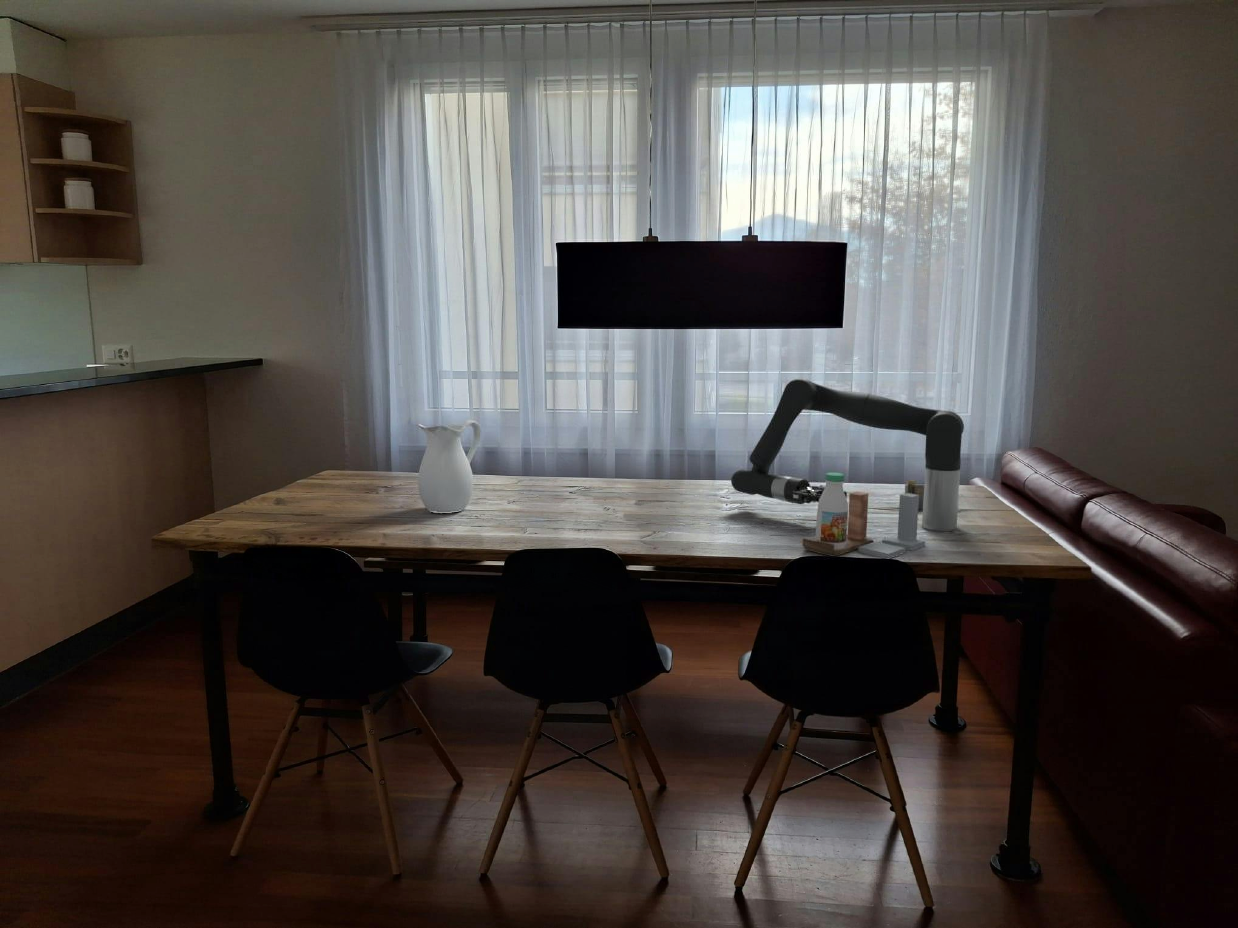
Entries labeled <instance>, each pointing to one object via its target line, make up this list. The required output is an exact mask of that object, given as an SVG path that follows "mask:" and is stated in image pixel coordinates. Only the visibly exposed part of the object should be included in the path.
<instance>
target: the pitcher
mask: <svg viewBox="0 0 1238 928" xmlns="http://www.w3.org/2000/svg"><path fill="white" fill-rule="evenodd" d="M417 425H418V427H419V428H420V429H421V430H422V431H423V432H424V434H425V436H426V449H425V451H424V454H423V456H422V459H421V462H420V466H419V469H418V475H417V487H418V492H419V493H418V494H419V498H420V500H421V502H422V504H423V506H424V507H425V508H426V510H427V511H428V510H430V511H437V512H451V511H459V510H463V509H464V510H465V509H466V508H467V506H468V505H469V503H470V501H471V498H472V496H473V491H474V475H473V470H472V468H471V462H472V459H473V457H474V455H475V453H476V451H477V448H478V446H479V445H480V441H481V432H482V429H481V426H480V424H479V423H478V422H477V421H476V420H473V419H467V420H464V421H463V422H461V423H460V424H454V423H450V424H445V425H434V426H425V425H422V424H421V423H418V424H417ZM468 426H471V427H472V431H473V436H472V441H471V442H472V443H471V445H470V448H469V451H468V452H467V455H466V453H465V451H464V448H463V446H462V441H461V439H462V436H463V433H464V431H465V430H466V429H467V428H468ZM464 510H463V511H464Z"/></svg>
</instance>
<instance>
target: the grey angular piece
mask: <svg viewBox="0 0 1238 928" xmlns="http://www.w3.org/2000/svg"><path fill="white" fill-rule="evenodd" d="M898 503H899V505H898V506H899V507H898V522H897V534H895V535H892V536H889V537H886V538H882V539H881V542H879V541H873V543H869V544H866V545H863V546H860V547H859V548H858V552H859V553H862V554H866V555H871V556H875V557H879V558H883V559H887V558H889V559H891V558H894V557H893V556H895V557H897V556H896V555H898V556H900V555H902V554H901V553H903V554H906V551H910V550H912V551H914V549H915V550H917V549H920V548H923V547H925V546H926V540H922V539H918V538H917V535H918V519H919V517H918V515H919V508H918V505H919V495H916V494H910V493H905V492H904V493H902V494H899V502H898ZM919 547H920V548H919ZM916 548H917V549H916ZM906 549H907V550H906ZM899 554H900V555H899Z"/></svg>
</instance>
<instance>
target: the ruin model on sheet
mask: <svg viewBox="0 0 1238 928" xmlns="http://www.w3.org/2000/svg"><path fill="white" fill-rule="evenodd" d="M916 481H917V480H916V479H914V480H913V479H912V480H910V479H909V480H907V481H906V483H905V485H904V494H905V493H910V494H916V495H919V505H918V509H923V500H924V484H923V483H922V484H921V483H919V484H918V483H916Z"/></svg>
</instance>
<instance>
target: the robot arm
mask: <svg viewBox="0 0 1238 928" xmlns="http://www.w3.org/2000/svg"><path fill="white" fill-rule="evenodd" d="M803 411H813V412H814V411H815V412H821V413H826V414H831V415H834V416H836V417H839V418H841V419H843V420H846V421H848V422H851V423H854V424H858V425H860V426H861V425H862V426H866V427H870V428H874V429H879V430H892V431H906V432H911V433H912V432H913V433H916V434H919V435H923V436H925V448H924V451H925V453H924V458H925V459H924V460H925V467H924V482H923V483H924V500H923V508H922V515H921V516H922V518H921V526H922V528H924V529H927V530H931V531H940V532H951V531H955V530H956V529H957V526H958V515H959V514H958V513H959V512H958V511H959V497H960V495H959V491H960V490H959V489H960V477H961V476H960V475H961V465H962V462H961V461H962V460H961V458H962V457H961V450H962V449H961V448H962V436H963V432H964V430H965V424H964V420H963V419H962V418H961V416H960V415H959V414H957V413H956V412H954V411H951V410H944V409H943V410H942V409H934V408H933V409H932V408H925V407H920V406H919V407H918V406H915V405H911V404H908V403H905V402H902V401H899V400H895V399H892V398H889V397H888V398H887V397H884V396H882V395H881V396H880V395H877V394H876V395H875V394H871V393H866V392H861V391H854V390H853V391H852V390H848V391H847V390H841V389H840V390H838V389H835V388H831V387H827V386H824V385H821V384H819V383H816V382H814V381H811V380H808V379H803V378H795V379H792V380H791V381H789V382H788V383H787V384H786V386H785V387H784V390H783V391H782V395H781V397H780V400H779V402H778V404H777V407H776V409H775V412H774V414H773V415H772V417H771V419H770V422H769V424H768V425H767V427H766V428H765V430H764V432H763V433H762V435H761V437H760V438H759V440H758V442H757V443H756V445H755V447H754V448H753V450H752V452H751V453H750V456H749V462H750V463H751V464H752V468H751V470H748V469H739V470H736V471H735V472H734V473H733V474H732V476H731V478H730V483H731V487H733V489H734V490H735V491H736V492H738V493H741V494H742V493H743V494H745V495H750V496H751V495H752V496H753V495H759V496H762V497H764V498H768V499H769V498H770V499H774V500H778V501H781V502H785V503H792V504H797V505H804V504H811V503H814V504H815V503H818V502H819V499H820V497H821V495H822V493H823V492H824V489H825V486H826V485H822V484H821V485H819V486H818V485H811V484H810V482H809V481H808V480H807V479H805V478H800V477H793V476H788V475H787V476H786V475H777V474H769V473H770V468H771V466H772V464H773V463H774V461H775V460H776V459H777V456H778V454H779V453H780V451H781V449H782V447H783V445H784V443H785V440H786V437H787V435H788V433H789V431H790V428H791V427H792V425H793V423H794V421H796V419H797V418H798V416H799V415H800V414H801V413H802V412H803ZM843 491H844V494H845V496H846V499H847V497H848V492H847V491H845V490H843Z"/></svg>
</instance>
